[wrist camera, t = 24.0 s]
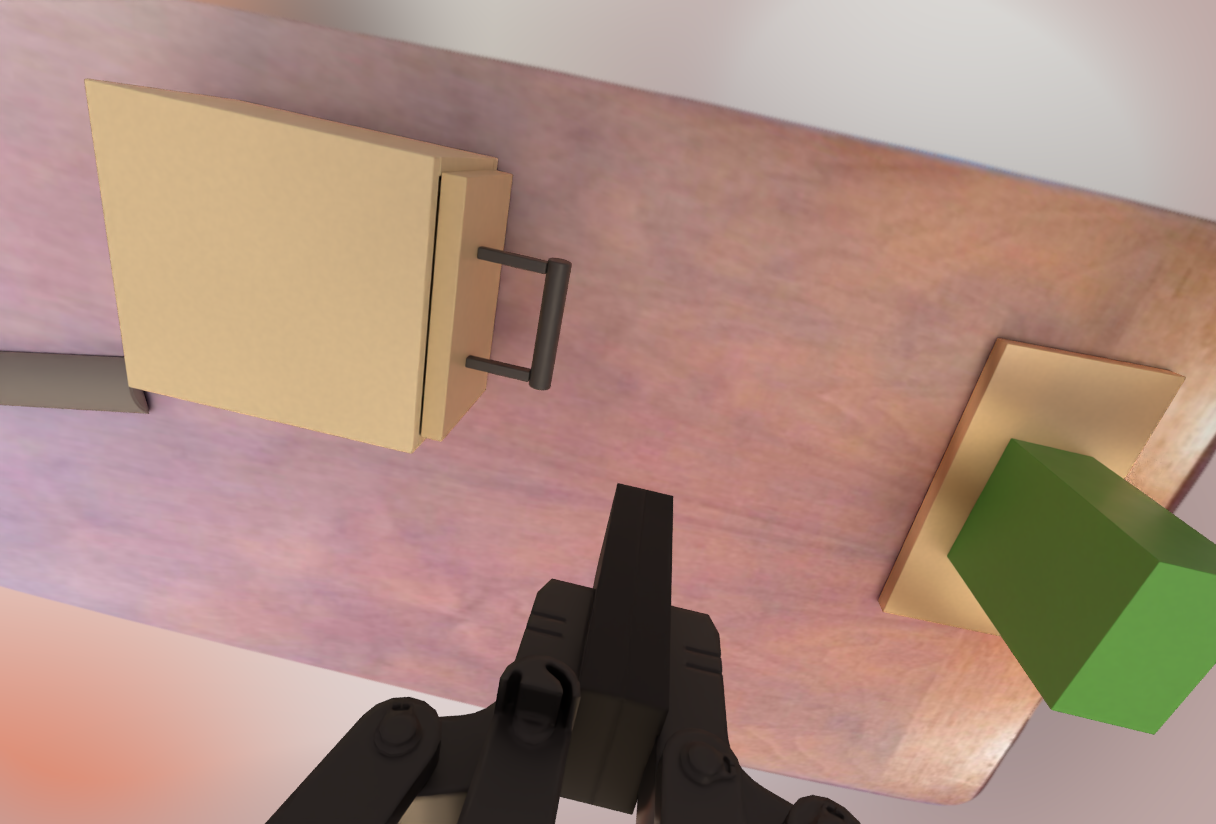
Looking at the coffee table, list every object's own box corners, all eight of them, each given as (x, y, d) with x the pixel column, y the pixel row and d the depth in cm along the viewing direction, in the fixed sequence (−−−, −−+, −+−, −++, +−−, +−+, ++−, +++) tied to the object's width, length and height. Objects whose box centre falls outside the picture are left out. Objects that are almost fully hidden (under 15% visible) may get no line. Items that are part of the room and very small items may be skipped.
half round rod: (160, 412, 43) (140, 422, 41) (-73, 399, 45) (-102, 408, 43) (143, 357, 41) (121, 365, 40) (-99, 345, 43) (-130, 353, 42)
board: (997, 337, 34) (1007, 343, 33) (1170, 370, 34) (1186, 377, 33) (877, 600, 42) (882, 612, 41) (1016, 629, 42) (1025, 642, 41)
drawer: (596, 192, 33) (573, 201, 26) (557, 407, 38) (529, 463, 31) (265, 118, 33) (152, 106, 26) (273, 340, 39) (181, 381, 32)
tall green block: (1093, 456, 35) (1280, 589, 24) (1020, 573, 39) (1154, 735, 28) (1010, 437, 35) (1160, 561, 24) (946, 556, 39) (1050, 710, 28)
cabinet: (498, 158, 34) (434, 156, 25) (471, 389, 39) (412, 454, 31) (237, 99, 34) (82, 77, 25) (249, 337, 40) (127, 387, 31)
